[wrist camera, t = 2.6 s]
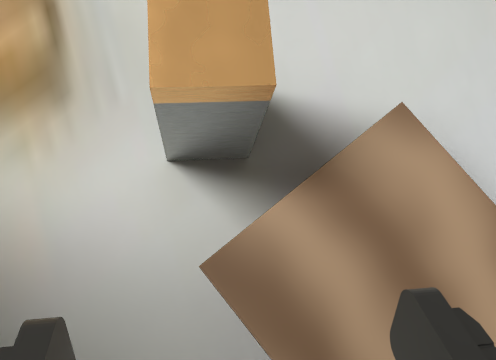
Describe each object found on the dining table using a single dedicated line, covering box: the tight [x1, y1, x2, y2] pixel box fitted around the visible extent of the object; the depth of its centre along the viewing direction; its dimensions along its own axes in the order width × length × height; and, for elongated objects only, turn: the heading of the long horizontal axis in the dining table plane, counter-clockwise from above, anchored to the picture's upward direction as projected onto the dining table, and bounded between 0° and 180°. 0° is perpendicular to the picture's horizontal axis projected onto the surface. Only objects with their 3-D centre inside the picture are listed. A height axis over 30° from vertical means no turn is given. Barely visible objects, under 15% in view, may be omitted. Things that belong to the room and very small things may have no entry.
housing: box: [147, 0, 276, 161], centre depth 23 cm, size 5×5×10 cm
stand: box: [199, 102, 496, 360], centre depth 24 cm, size 14×14×5 cm
